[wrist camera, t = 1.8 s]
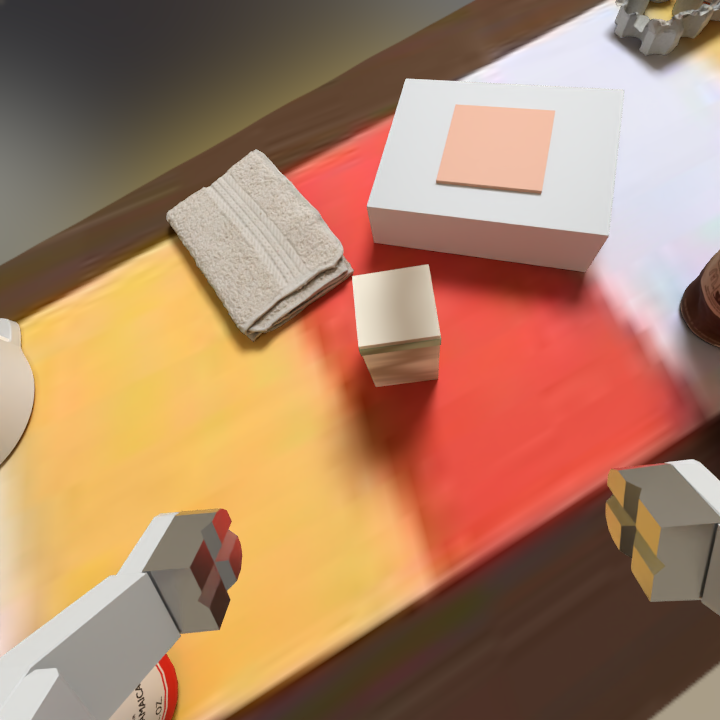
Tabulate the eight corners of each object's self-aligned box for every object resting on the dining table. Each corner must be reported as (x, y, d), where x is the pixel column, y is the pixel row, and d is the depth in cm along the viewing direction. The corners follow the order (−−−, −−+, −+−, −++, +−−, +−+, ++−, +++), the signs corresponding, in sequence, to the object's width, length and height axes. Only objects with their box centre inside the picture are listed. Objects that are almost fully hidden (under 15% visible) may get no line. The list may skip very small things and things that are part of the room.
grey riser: (374, 242, 40) (366, 203, 35) (408, 125, 44) (405, 75, 39) (585, 272, 36) (610, 233, 31) (601, 139, 40) (626, 86, 35)
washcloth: (257, 352, 38) (243, 339, 35) (169, 227, 45) (151, 207, 42) (364, 273, 39) (359, 254, 36) (263, 162, 46) (252, 138, 43)
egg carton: (649, 67, 42) (671, 23, 38) (598, 26, 45) (613, -19, 41) (744, 16, 42) (775, -34, 38) (687, -22, 45) (710, -71, 41)
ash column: (375, 387, 35) (357, 347, 27) (369, 330, 37) (351, 275, 28) (438, 379, 34) (441, 336, 26) (429, 321, 36) (429, 263, 28)
